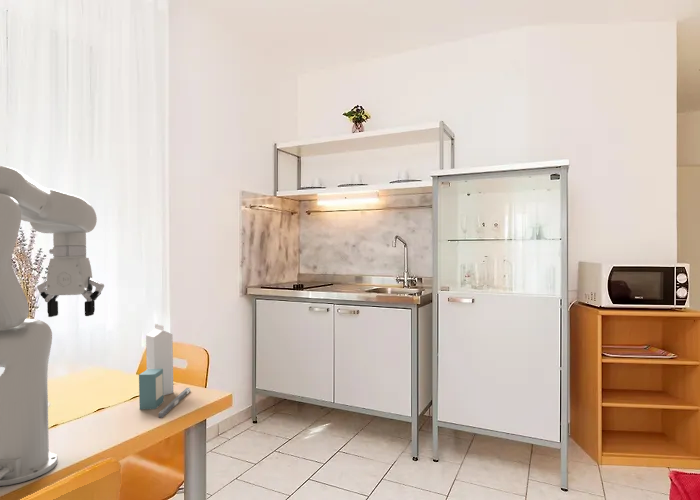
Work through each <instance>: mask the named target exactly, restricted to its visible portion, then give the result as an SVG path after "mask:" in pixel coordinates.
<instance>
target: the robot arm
mask: <svg viewBox="0 0 700 500" xmlns="http://www.w3.org/2000/svg"><path fill="white" fill-rule="evenodd" d="M22 221H23V222H27V223H29V225H31V227H32V229H34V230H35V231H37V232H38V233H42V234H52V235H53V247H52V248H51V249H49V250H48V253H49V254H50V255H52V256H53V258H50V259H49V262H48V268H47V274H46V280H45V281H44V282H42V283H41V284H38V285H37V286H36V289H37V290H38V292H39V293H40V297H42V299H44V302H46V303H47V309H46V311H47V317H48V318H52V317H57V316H59V301H58V300H57V299H58V298H59V296H80V295H81V296H82V297H83V298H84V299H85V300H86V301H84V316H85V317H90V316H94V314H95V310H96V309H95V307H96V306H95V301H96V300H97V298H98V297H100V295H101V294H102V291H103V289H104V287H105V284H104V283H101V282H100V281H98V280H95V279H94V278H93V272H92V271H93V270H92V266H91V261H90V259H89V257H87V233H90V232H92V231H93V230H94V229H95V227H96V225H97V221H98V219H97V213H96V211H95V209H94V207H93V206H92V205H91V203H89V202H88V201H86V200H85V198H82V197H80V196H77V195H75V194H71V193H70V194H69V193H67V192H62V191H60V190H56V189H53V188H47V187H44V186H42V185H41V184H39V183H38V182H36V181H35V180H33V179H32V178H30V177H29V176H28V175H26V174H24V173H23V172H22V171H20V170H19V169H16V168H13V167H11V166H10V167H9V166H6V165H5V166H4V165H0V368H4V370H3V372H2V373H1V374H0V487H1V486H4V487H5V486H10V485H15V484H20V483H24V482H27V481H29V480H33V479H35V478H38V477H40V476H43V475H45V474H46V473H48V472H50V471H51V470H52V469H54V468H55V467H56V466H57V465H58V463H59V462H58V461H59V459H58V455H57V454H56V453H54V452H51V451H50V449H49V448H50V447H49V404H48V403H49V397H48V396H49V394H48V392H49V389H48V386H49V385H48V374H49V373H48V371H49V369H48V368H49V363H50V362H49V360H50V354H51V349H52V344H53V343H52V342H53V332H52V329H51V326H50V325H49V324H48V323H46V322H45V321H42V320H40V319H37V318H36V319H34V318H28V316H29V313H30V309H29V308H30V307H29V302H28V300H27V297H26V295H25V293H24V290H23V288H22V286H21V283H20V281H19V279H18V277H17V274H16V272H15V270H14V267H13V262H12V258H13V253H14V249H15V246H16V242H17V239H18V235H19V232H20V227H21V222H22ZM93 287H95V290H94V291H93Z"/></svg>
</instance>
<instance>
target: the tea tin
mask: <svg viewBox="0 0 700 500" xmlns="http://www.w3.org/2000/svg"><path fill="white" fill-rule="evenodd" d="M138 393H139V395H138V396H139V410H156V409H157V408H158V407H160V406H161V405H162V404H163V403H164V397H165V395H163V369H147V368H146V370H144V371H143V372H141V373H140V374H138Z"/></svg>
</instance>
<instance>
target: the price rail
mask: <svg viewBox="0 0 700 500" xmlns="http://www.w3.org/2000/svg"><path fill="white" fill-rule="evenodd" d="M189 393H191V387H186V388H184V390H182V392H180V393H179V394H178V395H177V396H176V397H175V398H174V399H172V400H171V402H169V403H168V404H167V405H166V406H165V407H164V408H163V409H162V410H160V411H159V412H158V418H164V416H166V415H167V414H168V413H169V412H170V411H171V410H172V409H173V408H174V407H176V406H177V405H178V404H179V403H180V401H181V400H183V399H184V398H185V397H186V396H187V395H188V394H189Z"/></svg>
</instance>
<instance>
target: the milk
mask: <svg viewBox="0 0 700 500" xmlns="http://www.w3.org/2000/svg"><path fill="white" fill-rule="evenodd" d="M173 340H174V339H173V333H170V332H168V331H166V330H164V325H162V324H158V323H155V324H154V329H152V330H151V331H150V332H148V333H146V334H145V343H146V344H145V346H146V347H145V348H146V353H145V356H146V370H147V369H163V396H166V395H170V394H173V393H174V348H173V347H174V346H173V344H174V343H173Z"/></svg>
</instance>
